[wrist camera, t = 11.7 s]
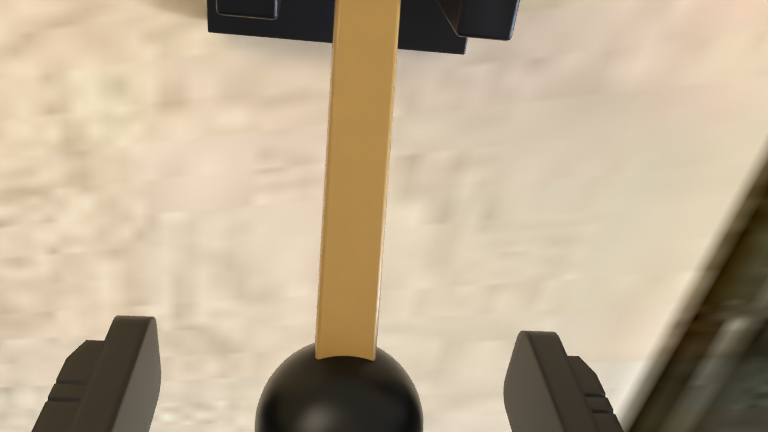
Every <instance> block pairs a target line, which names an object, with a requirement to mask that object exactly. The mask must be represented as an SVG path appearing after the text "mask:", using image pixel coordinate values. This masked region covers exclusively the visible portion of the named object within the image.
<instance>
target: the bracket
mask: <svg viewBox="0 0 768 432" xmlns="http://www.w3.org/2000/svg"><path fill="white" fill-rule="evenodd" d="M519 2H520V0H401V4H400V18H399V32H398V47H397V49H405V50H417V51H428V52H439V53H451V54H462V55H463V54H465V50H466V44H467V39H468V37H470V38H481V39H492V40H503V41H507V40H510V39H511V37H512V34H513V30H514V25H515V21H516V16H517V11H518V7H519ZM334 10H335V0H207V18H208V32H212V33H223V34H234V35H246V36H257V37H269V38H280V39H291V40H303V41H314V42H326V43H333V27H334Z"/></svg>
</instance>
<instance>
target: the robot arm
mask: <svg viewBox="0 0 768 432" xmlns="http://www.w3.org/2000/svg"><path fill="white" fill-rule="evenodd" d="M160 384H161V365H160V354H159V344H158V334H157V324H156V319H155V317H146V316H116V317H115V318H114V320H113V322H112V324H111V326H110V329H109V331H108V333H107V336H106V338H105V341H96V340H86V341H85V342H84V343H83V344H82V345H80V346H79V347H78V348H77V349H76V350H75V351H74V352H73V353H72V354H71V355H70V356H69V357H68V358H66V360H65V363H64V365H63V367H62V369H61V371H60V373H59V375H58V377H57V379H56V384H54V386H53V388H52V390H51V392H50V394H49V396H48V401H47V402H45V405H44V407H43V409H42V411H41V413H40V415H39V417H38V419H37V421H36V423H35V425H34V428H33V430H32V432H149V429H150V425H151V422H152V419H153V415H154V412H155V408H156V405H157V401H158V397H159V392H160ZM504 404H505V409H506V412H507V416H508V419H509V422H510V426H511V429H512V432H624V431H623V429H622V427H621V425H620V423H619V421H618V419H617V417H616V415H615V414H613V408H612V406H611V404H610V402H609V400H608V398H606V397H605V392H604V390H603V387H602V385H601V383H600V381H599V379H598V377H597V375H596V373H595V372H594V371H593V370H592V369H591V368H590V367H589V366H588V365H587V364H586V363H585V362H584V361H583V360H582V359H581V358H580V357H579V356H567V354H566V352H565V349H564V347H563V345H562V343H561V340H560V338H559V336H558V335H557V333H555V332H543V331H521V332H520V333H519V334H518V337H517V340H516V343H515V346H514V350H513V353H512V357H511V360H510V363H509V367H508V370H507V374H506V377H505V381H504Z"/></svg>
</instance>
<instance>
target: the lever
mask: <svg viewBox="0 0 768 432" xmlns="http://www.w3.org/2000/svg"><path fill="white" fill-rule="evenodd" d="M400 4H401V0H335V10H334V27H333V44H332V61H331V78H330V96H329V113H328V130H327V147H326V164H325V181H324V198H323V215H322V232H321V249H320V267H319V284H318V301H317V318H316V335H315V343H313V344H310V345H308V346H306V347H303V348H302V349H300V350H298V351H297V352H295V353H293V354H292V355H291V356H290V357H288V358H287V359H286V360H285V361H284V362H283V363H282V364H281V365H280V366H279V367H278V368H277V369H276V370H275V372H274V373H273V374H272V376H271V377H270V378H269V380H268V382H267V384H266V385H265V387H264V389H263V392H262V394H261V397H260V400H259V403H258V407H257V410H256V418H255V432H423V412H422V407H421V403H420V399H419V395H418V393H417V390H416V388H415V386H414V384H413V382H412V380H411V379H410V377H409V375H408V374H407V372H406V371H405V370H404V369H403V367H402V366H401V365H400V364H399V363H398V362H397V361H396V360H395V359H394V358H393V357H391V356H390V355H389V354H387V353H386V352H384V351H383V350H381V349H380V348H378V347H377V332H378V318H379V304H380V290H381V275H382V261H383V247H384V232H385V218H386V204H387V190H388V175H389V161H390V147H391V132H392V118H393V104H394V90H395V75H396V61H397V47H398V32H399V18H400Z"/></svg>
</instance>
